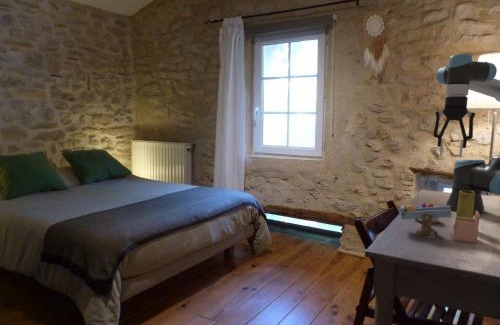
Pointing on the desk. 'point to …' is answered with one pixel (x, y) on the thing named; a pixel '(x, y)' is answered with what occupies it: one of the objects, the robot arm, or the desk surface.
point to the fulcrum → (426, 227)
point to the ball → (409, 208)
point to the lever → (418, 213)
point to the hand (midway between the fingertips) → (450, 155)
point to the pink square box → (466, 229)
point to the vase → (465, 204)
